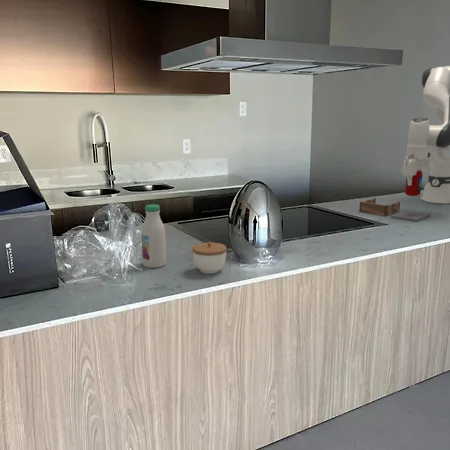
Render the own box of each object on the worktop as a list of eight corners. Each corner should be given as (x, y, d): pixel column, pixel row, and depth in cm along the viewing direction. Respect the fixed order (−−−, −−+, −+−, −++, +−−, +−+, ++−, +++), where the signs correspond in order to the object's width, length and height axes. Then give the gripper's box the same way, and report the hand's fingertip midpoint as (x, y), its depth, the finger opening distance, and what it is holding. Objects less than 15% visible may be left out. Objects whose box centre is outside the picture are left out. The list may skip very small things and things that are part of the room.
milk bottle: (167, 260, 157) (165, 202, 152) (165, 268, 150) (163, 207, 145) (144, 261, 157) (141, 203, 152) (141, 268, 149) (138, 208, 145)
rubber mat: (405, 212, 228) (405, 210, 228) (429, 216, 220) (430, 214, 220) (391, 217, 218) (391, 215, 218) (416, 221, 210) (416, 219, 210)
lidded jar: (187, 268, 150) (186, 240, 147) (216, 263, 155) (215, 235, 153) (202, 278, 141) (202, 249, 138) (232, 272, 146) (232, 243, 144)
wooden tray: (373, 207, 240) (374, 198, 239) (399, 211, 230) (400, 201, 229) (359, 211, 230) (360, 202, 229) (385, 216, 221) (386, 206, 219)
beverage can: (422, 196, 213) (425, 170, 210) (407, 196, 213) (410, 170, 210) (416, 193, 220) (419, 168, 217) (402, 193, 220) (405, 168, 217)
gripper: (413, 156, 203) (410, 187, 206) (432, 153, 217) (429, 182, 220) (399, 155, 207) (396, 186, 210) (419, 152, 221) (416, 181, 224)
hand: (413, 184), depth 215 cm, fingers closed on beverage can, 7 cm apart
